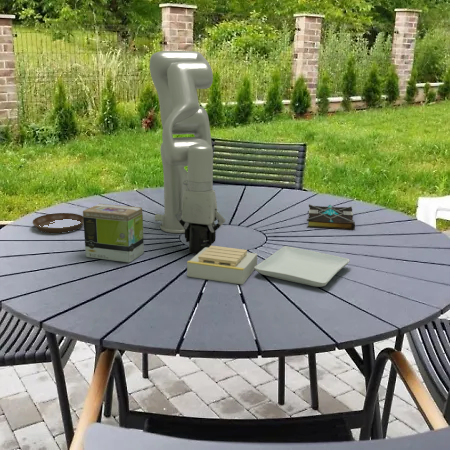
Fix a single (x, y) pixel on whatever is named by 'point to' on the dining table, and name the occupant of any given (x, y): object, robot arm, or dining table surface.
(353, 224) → the book
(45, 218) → the plant saucer
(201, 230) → the supplement bottle
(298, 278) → the salad plate
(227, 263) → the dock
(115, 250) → the tea box
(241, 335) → the dining table surface
